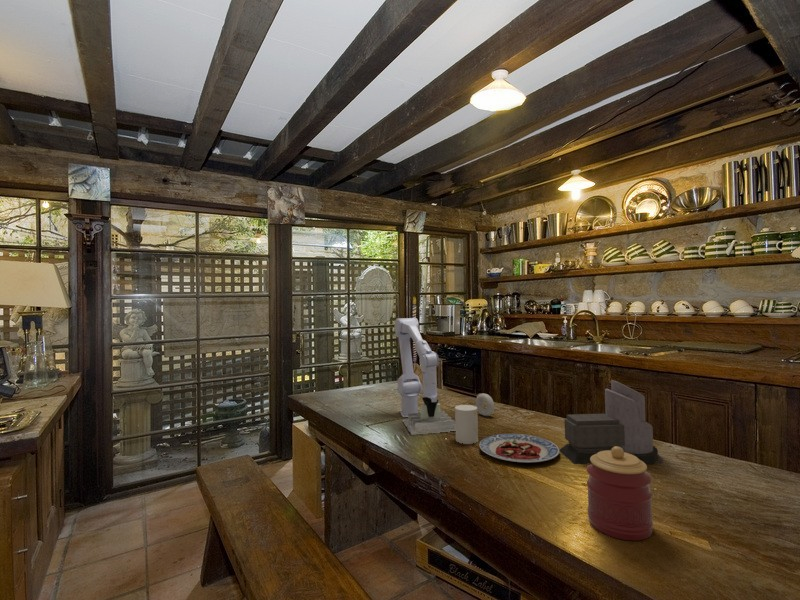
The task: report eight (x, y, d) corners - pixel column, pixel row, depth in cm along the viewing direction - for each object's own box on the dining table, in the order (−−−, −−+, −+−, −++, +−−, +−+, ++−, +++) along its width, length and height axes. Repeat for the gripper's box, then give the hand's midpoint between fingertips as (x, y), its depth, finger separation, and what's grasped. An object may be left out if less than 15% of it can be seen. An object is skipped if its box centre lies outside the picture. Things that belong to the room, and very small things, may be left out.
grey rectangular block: (420, 424, 166) (420, 404, 166) (439, 422, 167) (439, 403, 167) (421, 425, 164) (421, 405, 164) (440, 424, 165) (440, 404, 166)
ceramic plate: (567, 470, 121) (566, 460, 121) (479, 466, 126) (479, 456, 126) (552, 441, 146) (552, 433, 146) (479, 438, 151) (479, 430, 151)
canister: (630, 509, 98) (628, 436, 98) (667, 541, 85) (665, 456, 85) (577, 511, 97) (575, 438, 97) (606, 543, 84) (604, 459, 84)
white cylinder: (479, 443, 144) (479, 410, 144) (457, 444, 145) (456, 410, 145) (476, 436, 153) (475, 404, 153) (454, 436, 153) (453, 405, 153)
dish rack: (403, 421, 173) (402, 412, 173) (448, 418, 176) (447, 409, 176) (411, 435, 155) (410, 425, 155) (461, 431, 159) (460, 421, 159)
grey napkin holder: (642, 445, 139) (640, 374, 139) (674, 464, 123) (672, 384, 123) (555, 448, 139) (554, 377, 139) (577, 467, 123) (575, 386, 123)
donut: (474, 414, 182) (473, 392, 182) (479, 412, 184) (479, 391, 184) (491, 419, 174) (490, 396, 174) (496, 417, 176) (495, 394, 176)
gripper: (416, 379, 172) (417, 411, 172) (424, 386, 158) (424, 421, 158) (432, 378, 174) (433, 410, 173) (441, 385, 159) (442, 420, 159)
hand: (430, 415), depth 166 cm, fingers closed on grey rectangular block, 2 cm apart
